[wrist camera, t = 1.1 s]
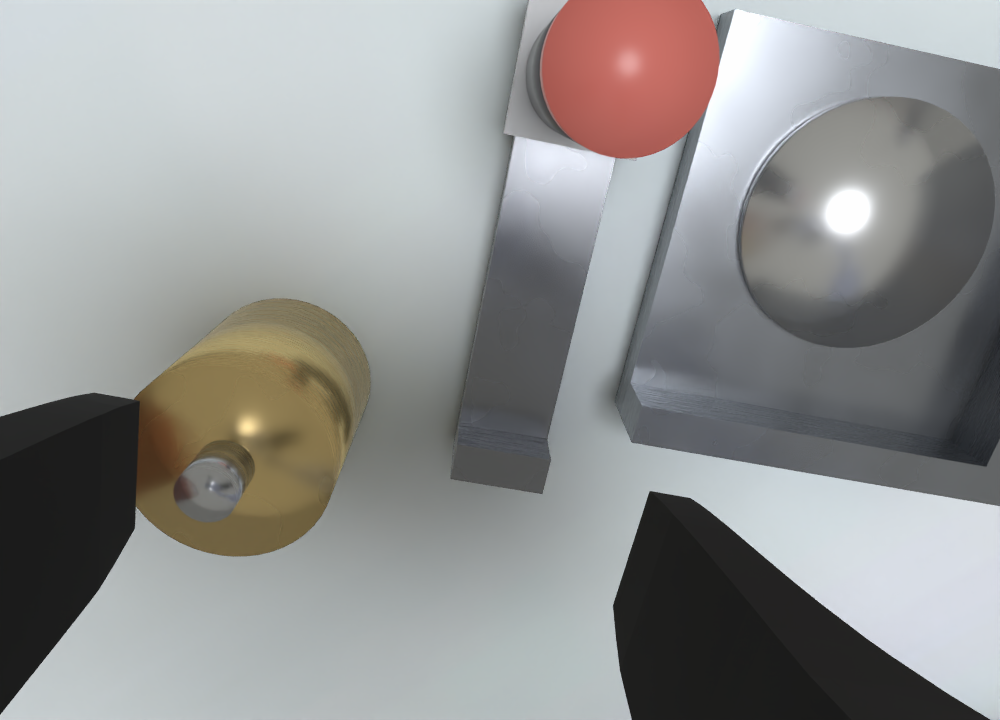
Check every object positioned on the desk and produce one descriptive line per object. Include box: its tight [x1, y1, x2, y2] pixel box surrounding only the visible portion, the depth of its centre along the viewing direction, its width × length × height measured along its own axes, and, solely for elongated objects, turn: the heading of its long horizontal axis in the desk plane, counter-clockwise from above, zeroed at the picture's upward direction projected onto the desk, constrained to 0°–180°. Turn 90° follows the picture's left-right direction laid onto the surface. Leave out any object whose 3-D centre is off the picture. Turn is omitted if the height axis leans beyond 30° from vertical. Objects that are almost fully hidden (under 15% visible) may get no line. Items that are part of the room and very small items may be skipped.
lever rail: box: [451, 136, 615, 494], centre depth 17 cm, size 13×2×2 cm, turn 169°
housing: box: [134, 299, 371, 556], centre depth 17 cm, size 4×4×6 cm
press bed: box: [615, 9, 1000, 506], centre depth 18 cm, size 10×10×2 cm
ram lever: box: [503, 0, 720, 161], centre depth 13 cm, size 3×3×6 cm
